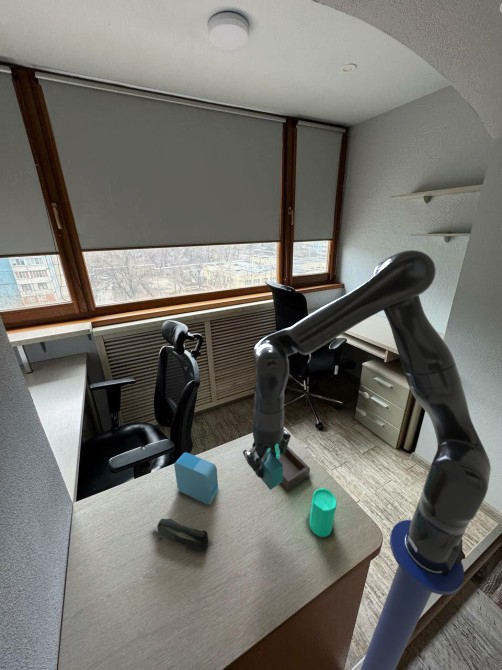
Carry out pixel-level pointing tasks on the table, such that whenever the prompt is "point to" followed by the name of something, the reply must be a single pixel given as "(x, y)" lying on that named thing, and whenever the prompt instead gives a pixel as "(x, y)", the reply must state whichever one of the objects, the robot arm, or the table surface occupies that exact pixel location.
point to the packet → (272, 471)
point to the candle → (322, 512)
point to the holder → (293, 469)
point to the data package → (196, 477)
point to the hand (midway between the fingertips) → (266, 471)
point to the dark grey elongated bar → (182, 534)
